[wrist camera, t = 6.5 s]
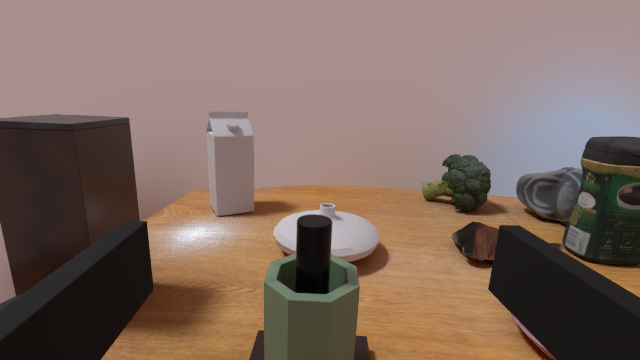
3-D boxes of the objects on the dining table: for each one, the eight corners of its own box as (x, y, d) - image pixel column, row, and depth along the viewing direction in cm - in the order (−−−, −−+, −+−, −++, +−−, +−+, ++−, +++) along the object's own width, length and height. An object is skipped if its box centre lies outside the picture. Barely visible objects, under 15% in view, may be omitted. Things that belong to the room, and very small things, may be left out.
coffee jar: (612, 246, 56) (643, 135, 51) (653, 269, 48) (694, 142, 43) (551, 241, 56) (576, 132, 52) (582, 264, 49) (615, 138, 44)
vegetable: (435, 182, 84) (498, 165, 75) (437, 228, 78) (506, 216, 68) (411, 157, 77) (476, 135, 68) (410, 205, 71) (483, 188, 61)
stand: (21, 322, 32) (-23, 119, 27) (81, 278, 40) (55, 114, 35) (102, 327, 32) (72, 123, 27) (146, 282, 40) (129, 117, 35)
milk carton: (209, 205, 67) (205, 110, 63) (244, 201, 71) (242, 110, 66) (217, 217, 61) (212, 112, 57) (254, 212, 65) (253, 113, 60)
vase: (366, 288, 40) (371, 235, 39) (253, 263, 45) (252, 214, 44) (385, 238, 55) (389, 198, 53) (298, 223, 60) (298, 185, 58)
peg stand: (225, 457, 21) (216, 249, 18) (258, 343, 31) (257, 195, 27) (381, 466, 21) (405, 259, 17) (365, 349, 31) (378, 200, 27)
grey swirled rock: (509, 207, 76) (617, 221, 69) (525, 228, 61) (664, 248, 55) (518, 158, 74) (630, 167, 67) (536, 168, 59) (682, 181, 52)
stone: (451, 216, 55) (552, 226, 52) (448, 250, 55) (548, 262, 52) (461, 225, 46) (584, 237, 43) (458, 265, 47) (579, 280, 43)
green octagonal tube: (258, 413, 23) (257, 297, 20) (274, 345, 29) (274, 250, 26) (352, 419, 22) (362, 303, 20) (348, 349, 29) (354, 254, 26)
